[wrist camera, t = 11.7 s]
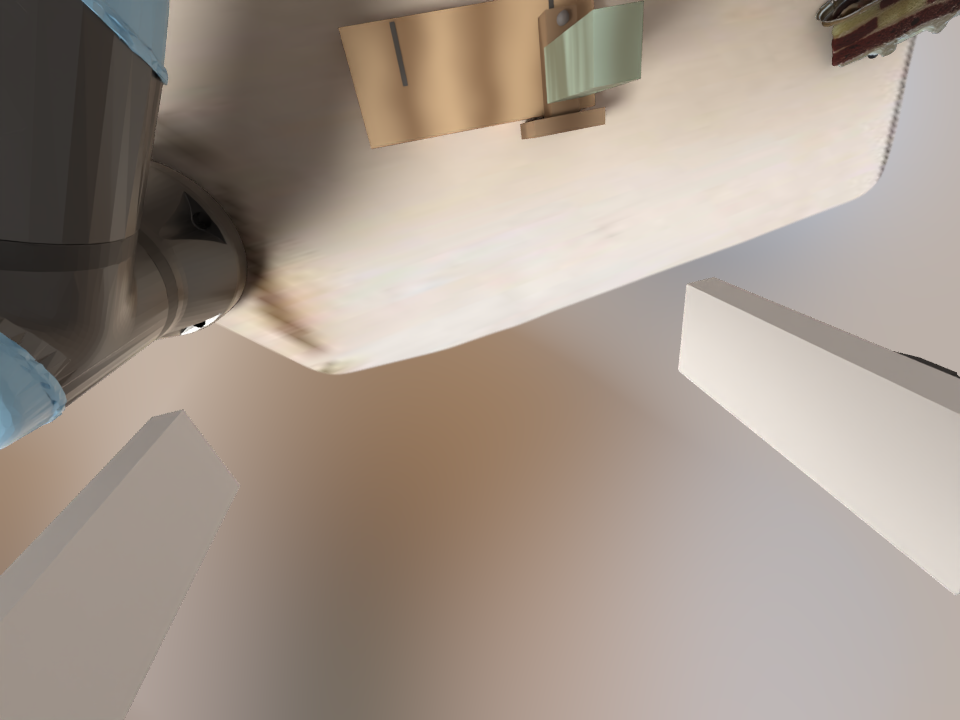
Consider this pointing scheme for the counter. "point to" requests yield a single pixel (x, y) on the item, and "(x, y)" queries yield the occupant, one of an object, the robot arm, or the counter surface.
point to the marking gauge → (584, 62)
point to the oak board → (450, 69)
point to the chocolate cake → (881, 24)
